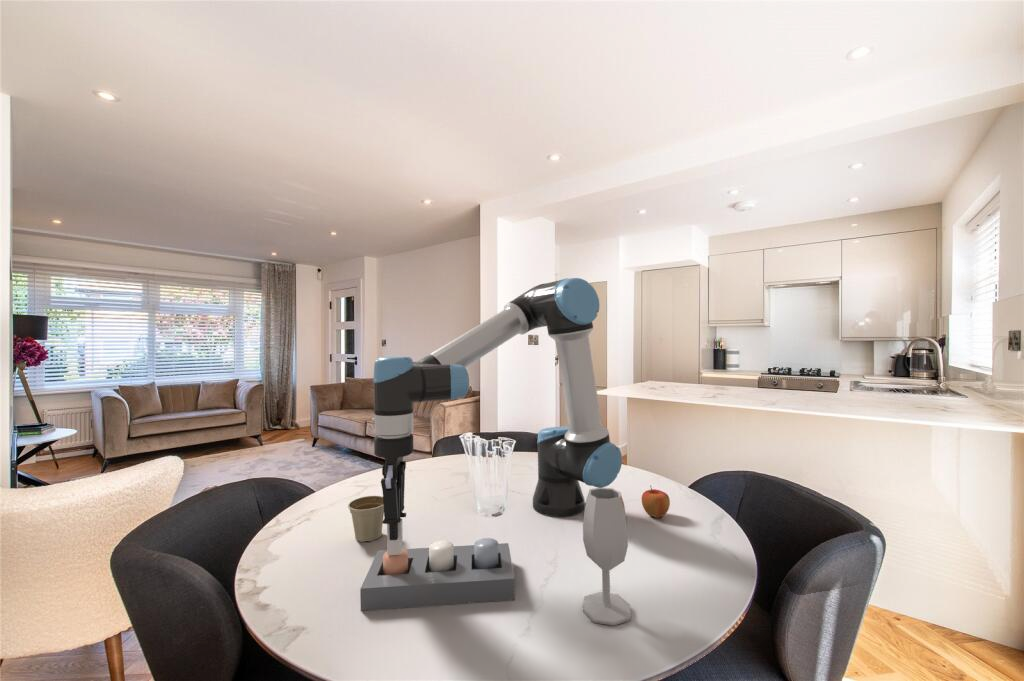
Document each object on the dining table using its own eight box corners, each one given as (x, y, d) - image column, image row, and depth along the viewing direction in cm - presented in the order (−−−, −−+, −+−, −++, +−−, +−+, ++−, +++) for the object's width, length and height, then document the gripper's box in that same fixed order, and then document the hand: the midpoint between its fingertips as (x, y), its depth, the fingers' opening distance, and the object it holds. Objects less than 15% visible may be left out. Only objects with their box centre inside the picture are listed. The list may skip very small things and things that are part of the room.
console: (508, 561, 92) (508, 543, 92) (514, 600, 78) (514, 578, 78) (378, 569, 90) (378, 550, 90) (360, 610, 76) (360, 588, 76)
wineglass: (576, 597, 79) (574, 485, 79) (621, 594, 80) (620, 483, 80) (589, 629, 70) (587, 503, 70) (639, 625, 71) (637, 501, 71)
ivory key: (454, 559, 87) (453, 539, 87) (453, 571, 82) (452, 551, 82) (430, 560, 86) (430, 541, 86) (428, 573, 82) (427, 552, 82)
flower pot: (375, 547, 100) (375, 510, 100) (340, 544, 102) (339, 508, 102) (394, 530, 109) (394, 496, 109) (361, 527, 111) (361, 494, 111)
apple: (661, 524, 110) (660, 493, 110) (636, 516, 115) (636, 486, 115) (675, 516, 115) (674, 487, 115) (650, 508, 120) (650, 480, 120)
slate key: (497, 556, 88) (497, 537, 88) (499, 568, 83) (498, 548, 83) (474, 558, 87) (474, 538, 87) (474, 570, 82) (474, 550, 82)
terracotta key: (410, 567, 86) (409, 547, 86) (406, 580, 81) (405, 559, 81) (386, 568, 86) (385, 549, 86) (380, 582, 81) (380, 561, 81)
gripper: (381, 428, 90) (382, 539, 90) (366, 442, 77) (367, 572, 77) (417, 427, 90) (418, 537, 90) (407, 441, 77) (409, 569, 77)
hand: (395, 553), depth 83 cm, fingers closed
